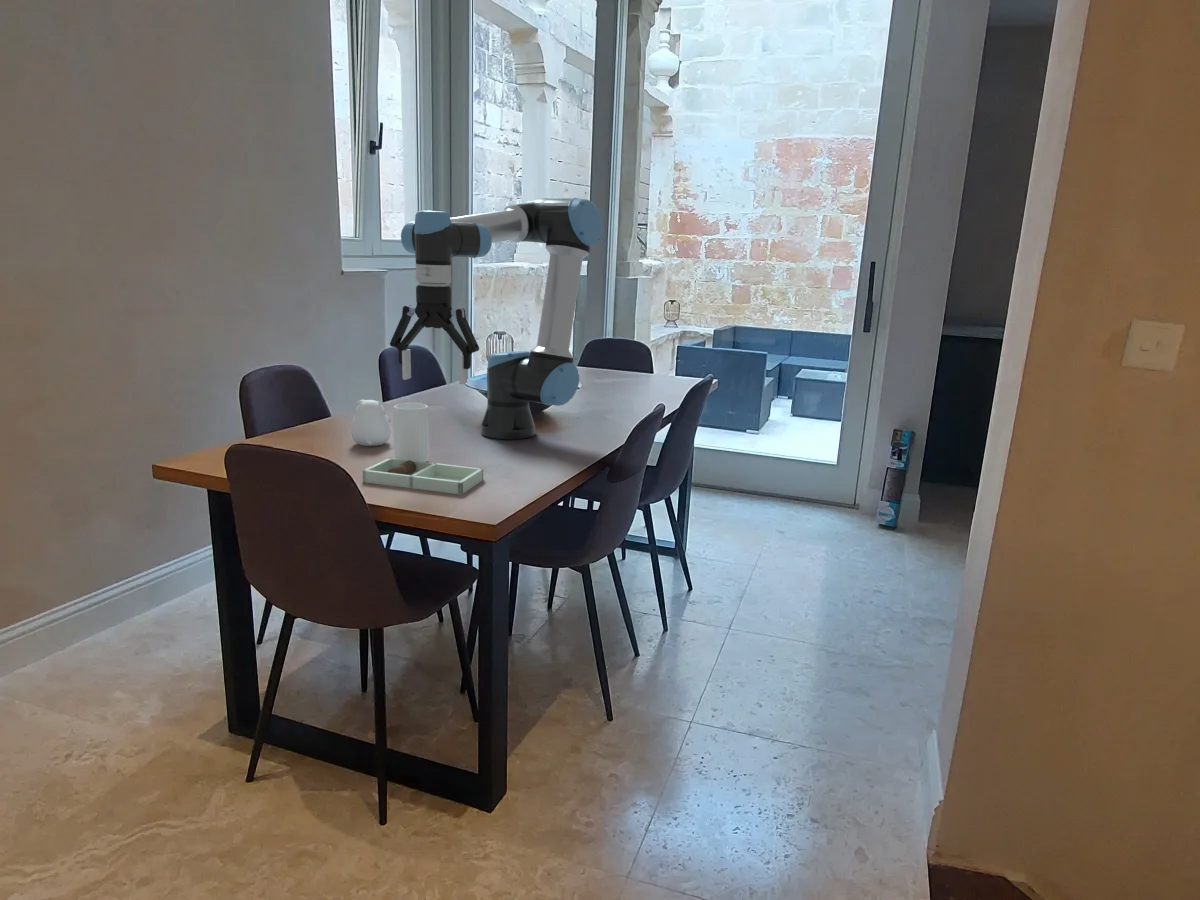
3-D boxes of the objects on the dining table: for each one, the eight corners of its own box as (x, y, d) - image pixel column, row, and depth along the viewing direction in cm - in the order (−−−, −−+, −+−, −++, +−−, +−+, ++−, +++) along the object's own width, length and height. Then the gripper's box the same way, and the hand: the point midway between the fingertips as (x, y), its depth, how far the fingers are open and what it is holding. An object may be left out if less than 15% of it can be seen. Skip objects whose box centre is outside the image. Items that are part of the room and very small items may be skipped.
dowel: (403, 471, 179) (404, 459, 178) (415, 474, 178) (416, 461, 177) (385, 481, 171) (386, 468, 171) (398, 483, 171) (398, 470, 170)
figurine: (389, 450, 199) (387, 403, 196) (348, 450, 197) (347, 403, 194) (392, 440, 208) (391, 396, 205) (354, 440, 207) (352, 395, 204)
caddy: (390, 470, 182) (389, 457, 181) (483, 481, 176) (483, 468, 175) (362, 483, 171) (362, 470, 170) (461, 496, 165) (461, 482, 165)
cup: (408, 458, 193) (407, 401, 189) (437, 462, 190) (436, 405, 186) (386, 466, 185) (384, 407, 181) (416, 471, 182) (415, 411, 178)
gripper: (372, 282, 170) (375, 379, 176) (481, 288, 165) (481, 387, 171) (388, 281, 178) (391, 374, 183) (493, 286, 173) (493, 382, 178)
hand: (434, 381), depth 177 cm, fingers open, 13 cm apart
